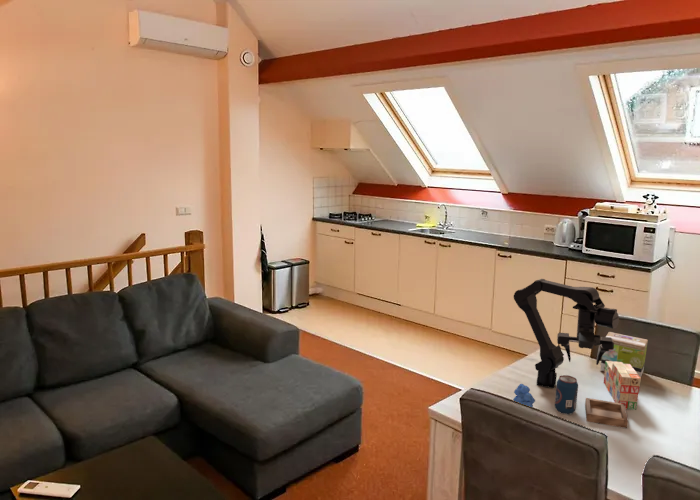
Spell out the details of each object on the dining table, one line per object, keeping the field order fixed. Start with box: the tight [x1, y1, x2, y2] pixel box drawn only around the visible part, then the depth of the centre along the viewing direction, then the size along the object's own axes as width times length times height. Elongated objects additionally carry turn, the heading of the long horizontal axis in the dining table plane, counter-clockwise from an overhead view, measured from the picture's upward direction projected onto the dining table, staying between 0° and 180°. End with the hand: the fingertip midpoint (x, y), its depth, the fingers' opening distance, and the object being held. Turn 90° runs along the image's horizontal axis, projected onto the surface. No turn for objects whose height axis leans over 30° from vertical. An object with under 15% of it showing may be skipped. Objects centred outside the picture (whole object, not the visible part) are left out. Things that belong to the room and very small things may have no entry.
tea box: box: [600, 331, 649, 378], centre depth 222 cm, size 15×10×15 cm, turn 55°
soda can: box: [554, 374, 579, 415], centre depth 190 cm, size 7×7×12 cm
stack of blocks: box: [603, 361, 642, 410], centre depth 202 cm, size 21×6×12 cm, turn 169°
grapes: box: [513, 383, 536, 408], centre depth 185 cm, size 12×7×12 cm, turn 5°
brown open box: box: [584, 397, 629, 429], centre depth 187 cm, size 12×12×3 cm
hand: (583, 363), depth 199 cm, fingers open, 9 cm apart
